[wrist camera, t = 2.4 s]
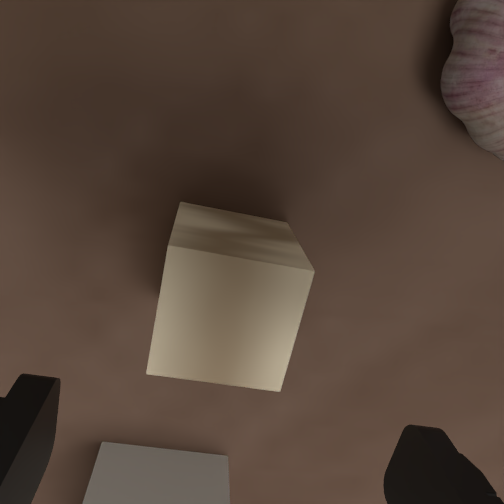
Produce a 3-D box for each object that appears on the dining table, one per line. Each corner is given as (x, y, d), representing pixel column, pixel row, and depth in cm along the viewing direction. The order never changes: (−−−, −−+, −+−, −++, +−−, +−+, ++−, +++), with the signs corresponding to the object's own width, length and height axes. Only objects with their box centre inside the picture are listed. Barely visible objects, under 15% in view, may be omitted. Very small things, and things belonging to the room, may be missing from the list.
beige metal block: (287, 222, 21) (315, 271, 15) (262, 315, 22) (280, 391, 17) (180, 201, 20) (167, 245, 14) (163, 299, 22) (146, 374, 16)
